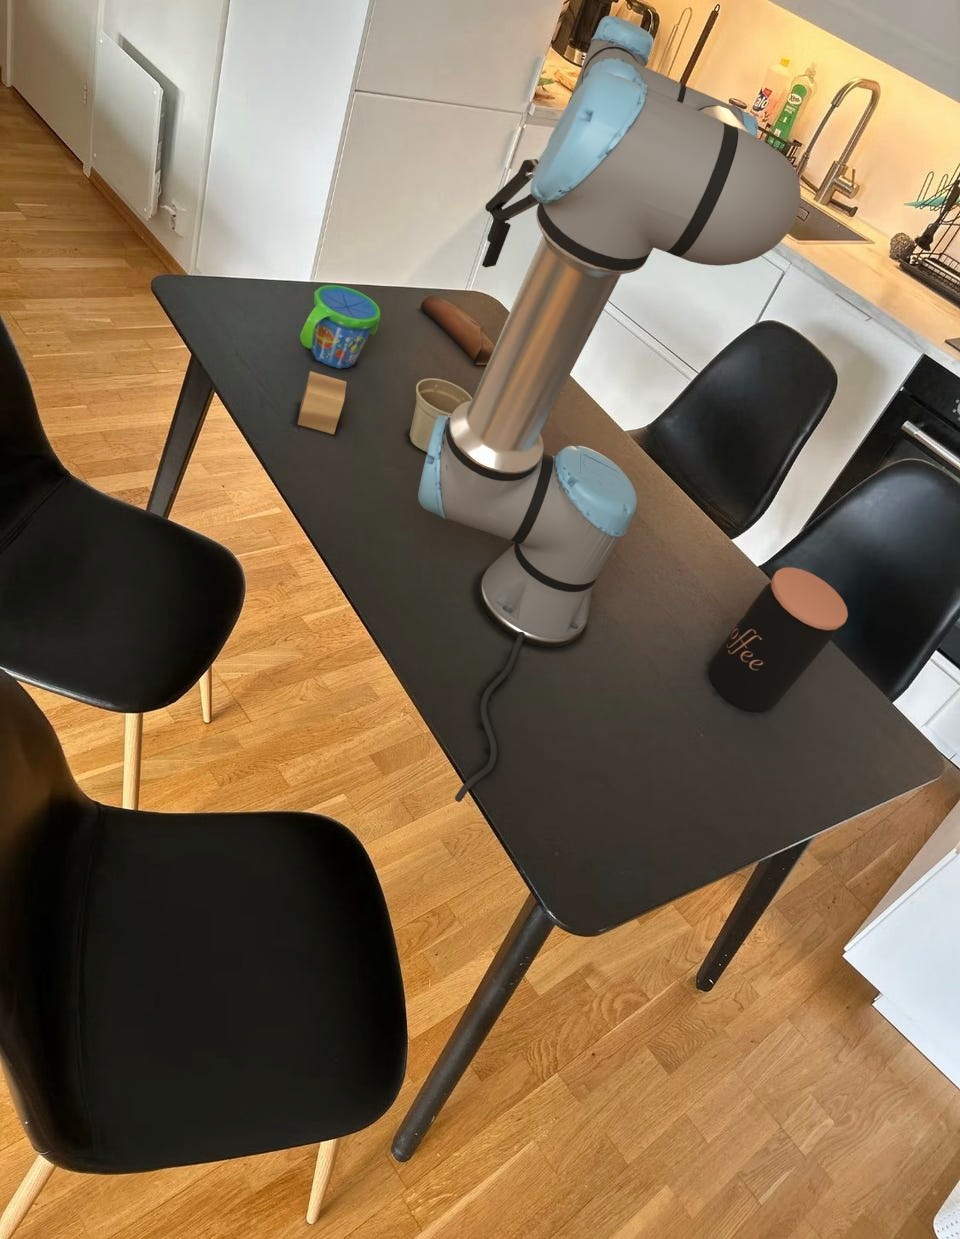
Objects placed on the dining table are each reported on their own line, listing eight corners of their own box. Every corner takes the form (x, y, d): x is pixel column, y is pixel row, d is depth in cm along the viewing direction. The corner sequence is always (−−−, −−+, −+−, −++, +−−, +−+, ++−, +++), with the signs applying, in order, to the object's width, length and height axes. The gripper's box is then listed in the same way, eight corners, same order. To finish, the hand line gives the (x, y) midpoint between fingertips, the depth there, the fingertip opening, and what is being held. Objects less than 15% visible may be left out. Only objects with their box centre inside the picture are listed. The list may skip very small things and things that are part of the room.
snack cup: (349, 335, 168) (365, 281, 162) (387, 370, 164) (405, 316, 158) (275, 344, 158) (289, 286, 151) (313, 381, 154) (329, 324, 147)
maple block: (334, 434, 145) (344, 401, 142) (297, 424, 144) (306, 390, 140) (336, 414, 149) (346, 381, 146) (300, 404, 148) (310, 370, 144)
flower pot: (460, 437, 157) (478, 392, 152) (453, 468, 150) (472, 422, 145) (404, 416, 156) (421, 370, 150) (395, 447, 149) (411, 400, 143)
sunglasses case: (508, 361, 181) (506, 334, 175) (477, 380, 179) (474, 353, 173) (452, 307, 188) (448, 280, 183) (422, 325, 187) (417, 298, 181)
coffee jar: (700, 649, 140) (767, 557, 128) (766, 669, 142) (837, 580, 130) (710, 704, 132) (782, 611, 120) (780, 724, 134) (857, 635, 122)
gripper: (665, 190, 132) (599, 328, 146) (525, 103, 139) (475, 243, 152) (640, 194, 127) (574, 337, 140) (496, 103, 134) (446, 248, 147)
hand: (522, 289), depth 146 cm, fingers open, 13 cm apart
